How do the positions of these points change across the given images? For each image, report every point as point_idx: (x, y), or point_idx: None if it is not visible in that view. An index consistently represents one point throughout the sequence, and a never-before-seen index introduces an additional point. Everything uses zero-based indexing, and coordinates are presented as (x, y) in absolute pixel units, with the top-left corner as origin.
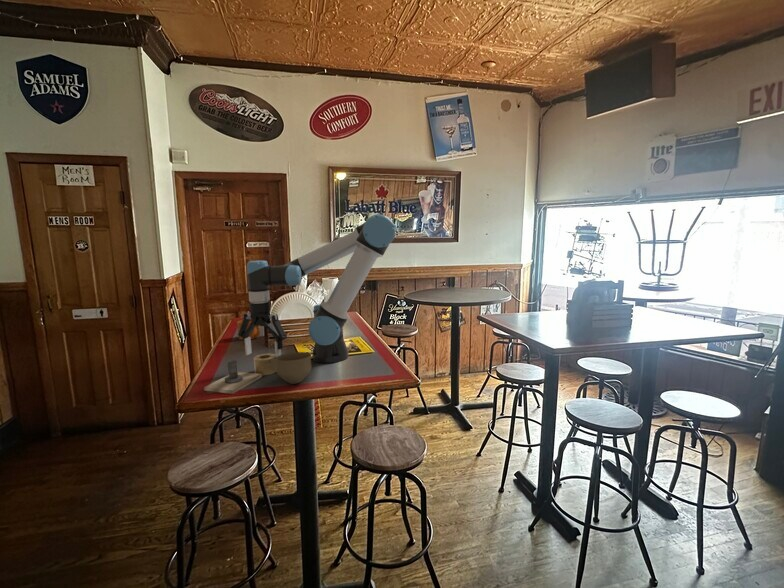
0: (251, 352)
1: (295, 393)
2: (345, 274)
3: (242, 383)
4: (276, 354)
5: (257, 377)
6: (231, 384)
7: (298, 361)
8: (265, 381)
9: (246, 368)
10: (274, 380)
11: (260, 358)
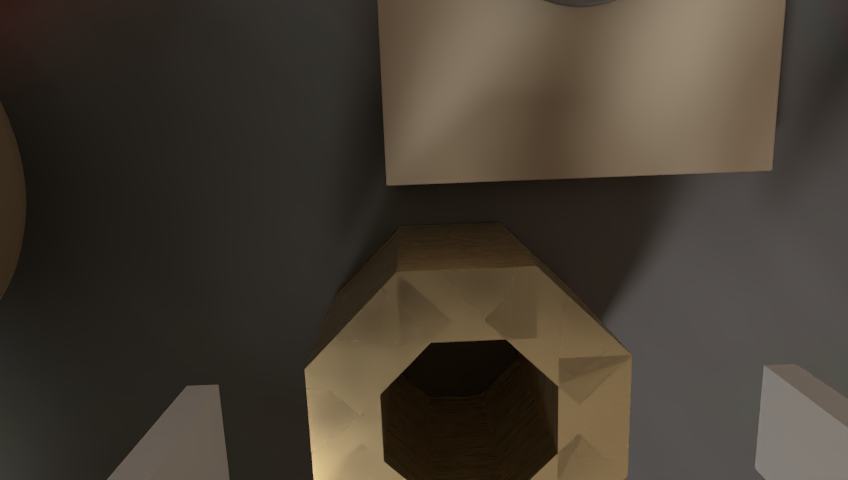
0: (761, 471)
1: None
2: None
3: None
4: (171, 414)
5: (382, 102)
6: None
7: None
8: (253, 77)
9: (742, 359)
10: (174, 133)
11: (548, 407)
